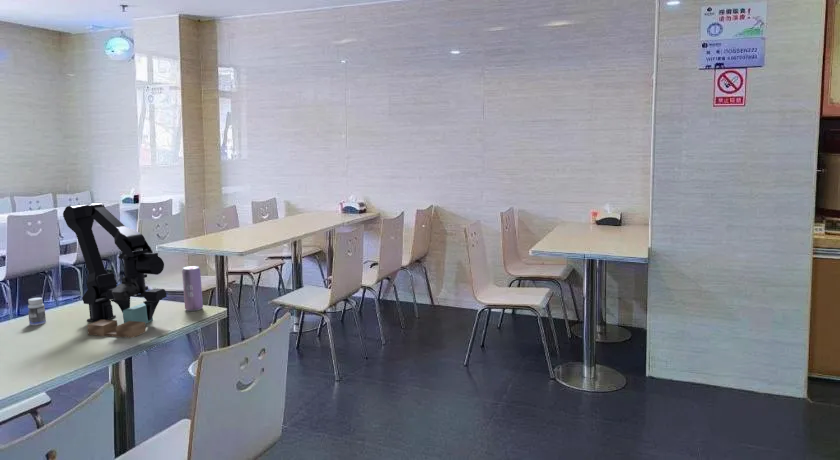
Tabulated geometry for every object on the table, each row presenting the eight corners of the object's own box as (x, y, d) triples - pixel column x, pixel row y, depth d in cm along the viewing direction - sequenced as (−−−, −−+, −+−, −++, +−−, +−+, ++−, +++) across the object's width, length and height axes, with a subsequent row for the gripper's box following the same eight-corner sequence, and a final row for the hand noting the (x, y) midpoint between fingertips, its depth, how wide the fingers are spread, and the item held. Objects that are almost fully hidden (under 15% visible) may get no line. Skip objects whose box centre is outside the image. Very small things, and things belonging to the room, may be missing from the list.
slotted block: (88, 334, 195) (87, 324, 195) (102, 329, 201) (101, 319, 201) (132, 337, 191) (131, 327, 191) (145, 331, 197) (145, 321, 197)
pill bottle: (26, 324, 208) (23, 300, 207) (39, 321, 213) (36, 296, 212) (36, 326, 207) (33, 301, 206) (49, 322, 211) (46, 297, 210)
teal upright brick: (124, 328, 201) (122, 310, 201) (145, 320, 211) (143, 302, 210) (132, 329, 201) (130, 310, 200) (152, 320, 210) (151, 303, 209)
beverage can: (205, 307, 226) (202, 265, 224) (198, 311, 220) (195, 269, 218) (189, 307, 226) (186, 265, 224) (182, 311, 221) (178, 269, 219)
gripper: (91, 277, 198) (95, 325, 200) (142, 278, 193) (146, 328, 196) (116, 269, 209) (120, 315, 211) (165, 271, 204) (169, 318, 206)
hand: (138, 319), depth 206 cm, fingers open, 8 cm apart
